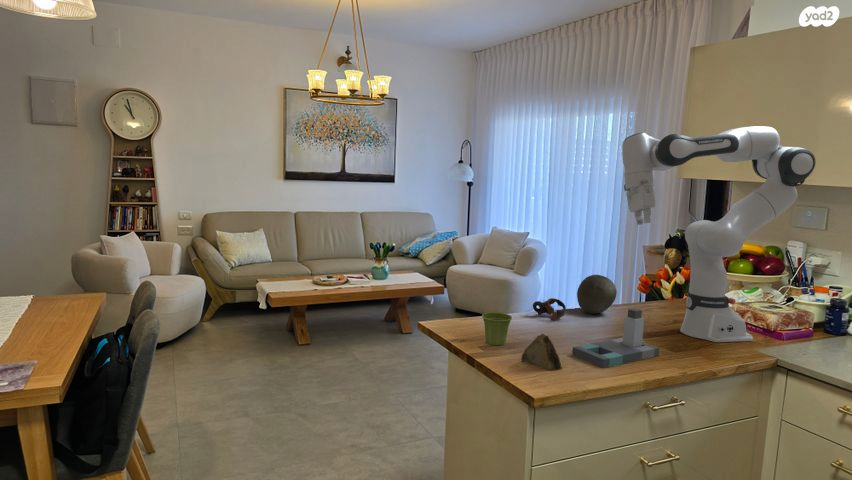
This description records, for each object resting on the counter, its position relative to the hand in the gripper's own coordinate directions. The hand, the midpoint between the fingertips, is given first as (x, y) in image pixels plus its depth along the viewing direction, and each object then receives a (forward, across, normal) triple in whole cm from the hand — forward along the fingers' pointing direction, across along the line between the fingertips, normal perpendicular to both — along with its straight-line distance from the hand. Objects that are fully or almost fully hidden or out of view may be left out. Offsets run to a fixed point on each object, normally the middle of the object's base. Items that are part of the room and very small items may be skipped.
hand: (643, 223), depth 187 cm
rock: (+38, -31, +40) cm, 63 cm away
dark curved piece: (+31, +21, +32) cm, 50 cm away
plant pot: (+34, -14, +52) cm, 64 cm away
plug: (+39, -14, +11) cm, 43 cm away
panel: (+39, -18, +17) cm, 46 cm away
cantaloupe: (+32, +31, +14) cm, 47 cm away
